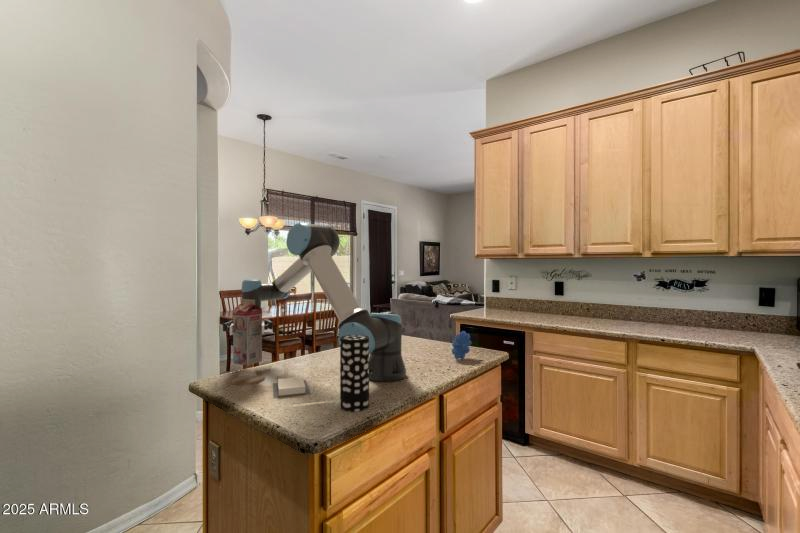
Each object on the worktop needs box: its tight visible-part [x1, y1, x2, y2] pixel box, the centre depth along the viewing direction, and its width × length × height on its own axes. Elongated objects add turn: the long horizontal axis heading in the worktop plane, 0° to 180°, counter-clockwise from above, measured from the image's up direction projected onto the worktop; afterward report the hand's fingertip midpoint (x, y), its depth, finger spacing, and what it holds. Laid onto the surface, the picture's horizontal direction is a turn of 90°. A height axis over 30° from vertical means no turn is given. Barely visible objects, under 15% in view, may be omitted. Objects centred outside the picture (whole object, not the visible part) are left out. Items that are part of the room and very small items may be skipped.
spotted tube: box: [339, 335, 370, 413], centre depth 111 cm, size 8×8×20 cm
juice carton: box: [232, 298, 263, 366], centre depth 134 cm, size 7×7×22 cm
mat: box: [272, 379, 311, 399], centre depth 125 cm, size 15×11×1 cm
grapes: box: [451, 330, 472, 360], centre depth 168 cm, size 12×7×12 cm, turn 128°
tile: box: [277, 376, 305, 396], centre depth 124 cm, size 2×8×11 cm
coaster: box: [230, 374, 266, 386], centre depth 134 cm, size 11×11×1 cm
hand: (247, 330), depth 130 cm, fingers closed on juice carton, 9 cm apart
